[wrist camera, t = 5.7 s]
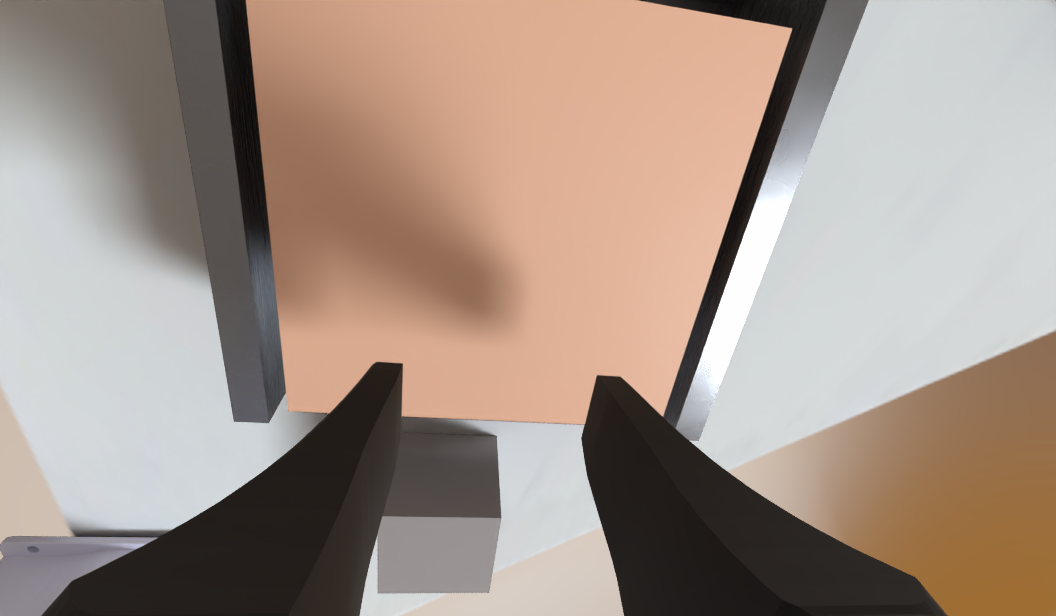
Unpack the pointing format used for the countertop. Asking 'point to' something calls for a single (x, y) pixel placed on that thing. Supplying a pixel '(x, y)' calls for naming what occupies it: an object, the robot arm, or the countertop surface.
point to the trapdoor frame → (242, 218)
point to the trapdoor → (499, 192)
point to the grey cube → (441, 515)
